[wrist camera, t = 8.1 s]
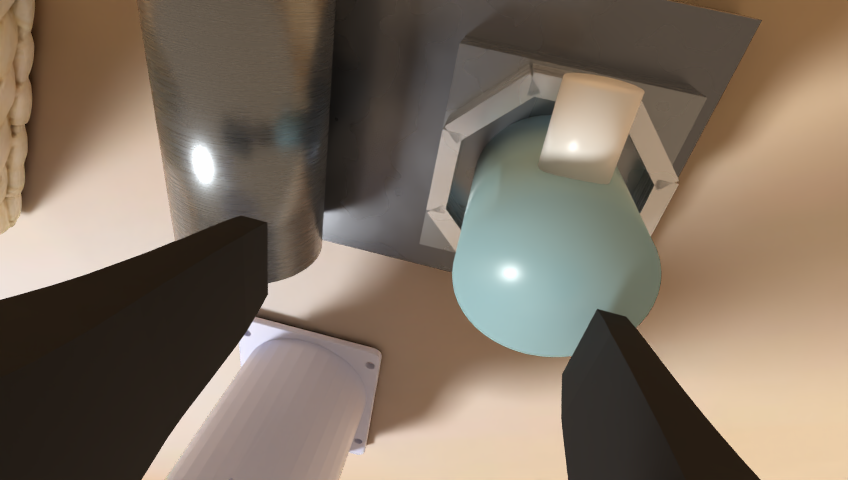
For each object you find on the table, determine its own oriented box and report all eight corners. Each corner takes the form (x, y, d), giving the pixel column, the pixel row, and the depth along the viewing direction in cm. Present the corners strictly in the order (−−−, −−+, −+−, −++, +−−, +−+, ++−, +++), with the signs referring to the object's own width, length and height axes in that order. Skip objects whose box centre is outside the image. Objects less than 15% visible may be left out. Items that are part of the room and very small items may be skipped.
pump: (588, 253, 16) (616, 374, 11) (463, 227, 16) (438, 333, 11) (663, 65, 12) (747, 125, 8) (502, 38, 13) (490, 79, 8)
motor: (601, 288, 20) (632, 413, 14) (214, 192, 21) (106, 275, 16) (745, 3, 14) (892, 34, 8) (185, -113, 15) (-11, -153, 9)
